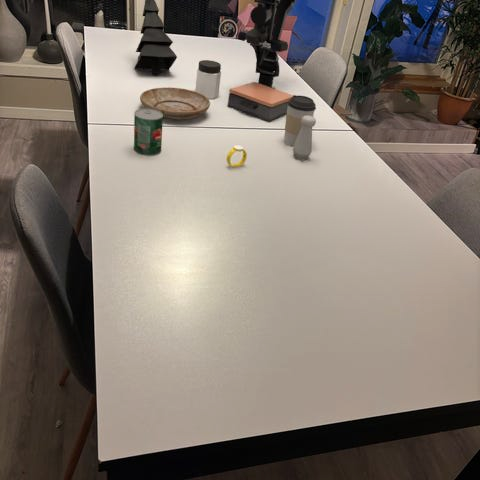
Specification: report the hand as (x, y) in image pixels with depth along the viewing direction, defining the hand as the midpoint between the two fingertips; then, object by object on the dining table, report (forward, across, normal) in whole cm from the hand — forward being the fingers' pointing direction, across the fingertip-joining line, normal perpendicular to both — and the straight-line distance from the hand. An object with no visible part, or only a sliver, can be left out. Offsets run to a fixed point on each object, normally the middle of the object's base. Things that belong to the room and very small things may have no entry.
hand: (259, 64), depth 187 cm
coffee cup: (+13, +32, -24) cm, 42 cm away
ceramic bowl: (+13, -9, -36) cm, 39 cm away
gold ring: (+13, +29, -53) cm, 62 cm away
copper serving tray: (+8, +8, -8) cm, 14 cm away
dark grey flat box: (+13, +8, -8) cm, 17 cm away
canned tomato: (+13, +6, -65) cm, 67 cm away
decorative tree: (+13, -46, -8) cm, 49 cm away
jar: (+13, -13, -13) cm, 23 cm away
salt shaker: (+13, +39, -32) cm, 52 cm away
